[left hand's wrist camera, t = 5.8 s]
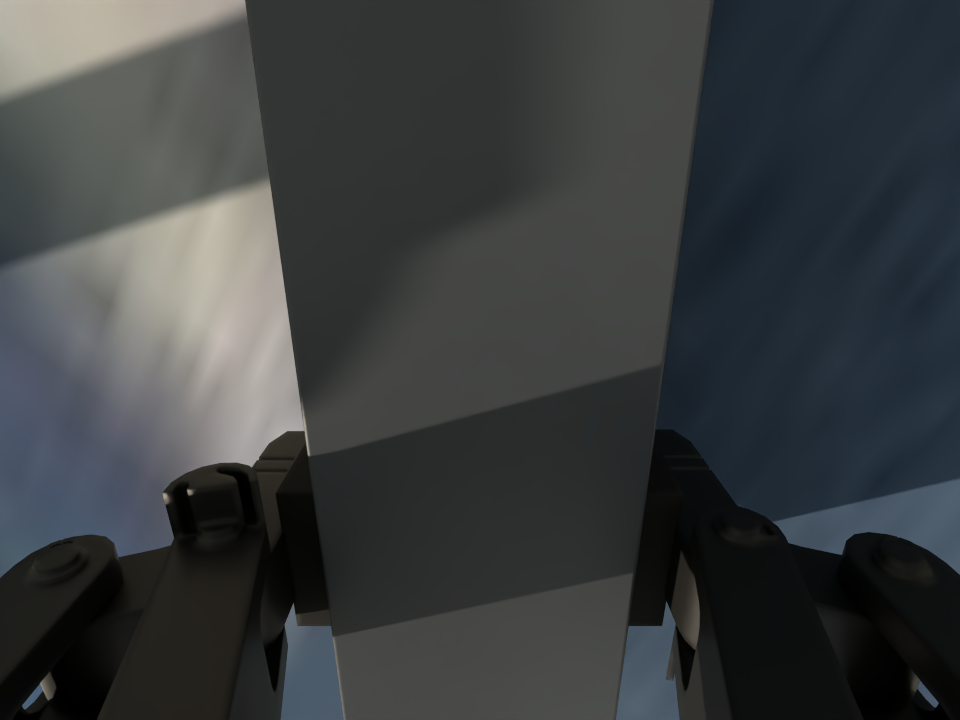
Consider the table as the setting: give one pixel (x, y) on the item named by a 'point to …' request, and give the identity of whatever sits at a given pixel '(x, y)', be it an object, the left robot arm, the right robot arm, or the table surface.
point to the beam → (479, 327)
